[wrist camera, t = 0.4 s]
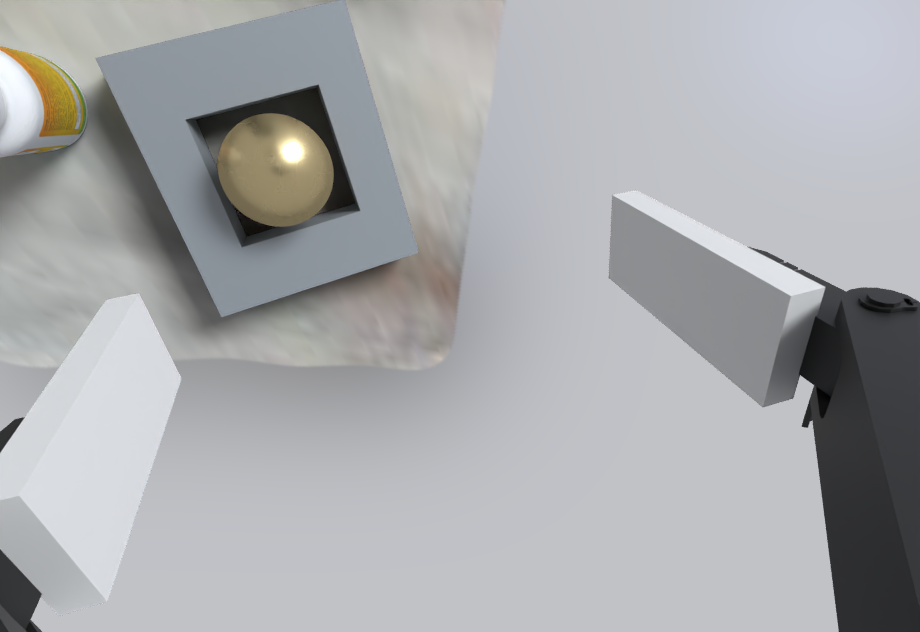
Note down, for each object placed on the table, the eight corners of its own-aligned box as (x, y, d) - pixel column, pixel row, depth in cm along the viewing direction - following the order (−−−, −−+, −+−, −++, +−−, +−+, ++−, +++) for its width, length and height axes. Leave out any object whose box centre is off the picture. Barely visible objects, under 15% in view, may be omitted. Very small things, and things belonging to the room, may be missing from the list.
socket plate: (115, 64, 31) (95, 58, 28) (340, 10, 34) (344, -2, 30) (228, 300, 38) (221, 317, 35) (409, 242, 40) (418, 252, 37)
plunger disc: (204, 130, 31) (197, 130, 28) (310, 101, 32) (311, 100, 30) (248, 232, 33) (245, 240, 31) (345, 202, 34) (348, 208, 32)
